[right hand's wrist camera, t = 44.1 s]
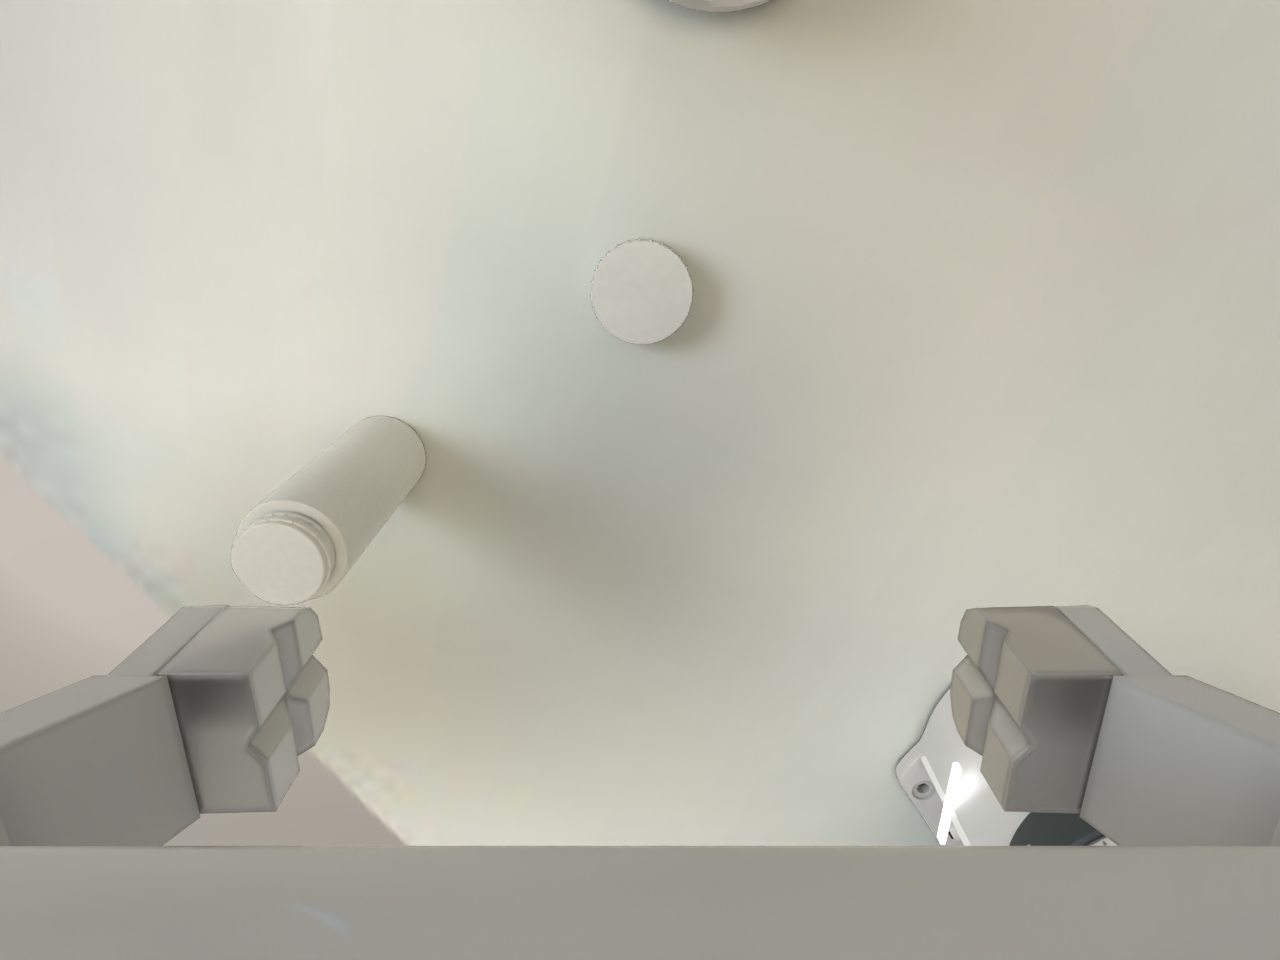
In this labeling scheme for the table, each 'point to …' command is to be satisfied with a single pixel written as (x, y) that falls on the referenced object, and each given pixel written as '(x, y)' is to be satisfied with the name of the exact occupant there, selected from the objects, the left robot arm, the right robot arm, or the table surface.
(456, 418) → the table surface
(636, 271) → the lid
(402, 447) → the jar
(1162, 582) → the table surface
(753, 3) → the flag stand
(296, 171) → the table surface
